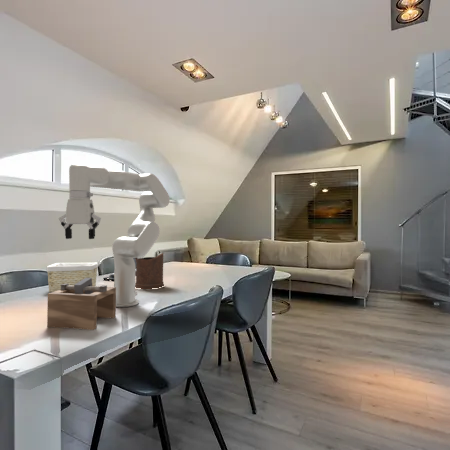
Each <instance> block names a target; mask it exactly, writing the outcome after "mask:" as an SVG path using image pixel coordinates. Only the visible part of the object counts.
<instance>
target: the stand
mask: <svg viewBox="0 0 450 450" xmlns="http://www.w3.org/2000/svg"><path fill="white" fill-rule="evenodd" d="M85 290H88V291H93V293H92V294H85ZM116 309H117V307H116V287H114V286H108V285H100V286H86V287H85V288H83V294H75V289H74V286H72V285H69V284H61V290H58V291H55V292H49V293H47V309H46V310H47V316H46V317H47V318H46V319H47V320H46V327H47V328H60V329H74V330H75V329H76V330H89V331H94V330H96V329H97V326H98V325H97V322H98V321H97V320H98V319H97V318H101V319H103V318H104V319H115V318H116V315H117V314H116V312H117V310H116Z"/></svg>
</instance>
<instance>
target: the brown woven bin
mask: <svg viewBox="0 0 450 450" xmlns="http://www.w3.org/2000/svg"><path fill="white" fill-rule="evenodd" d="M134 260H135V266H136V271H135V287H136V288H141V289H152V288H159V287H162V286H164V285H165V284H164V253H163V252H162V253H160V254H159V255H157V256H146V257H145V256H144V257H142V258H134Z"/></svg>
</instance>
